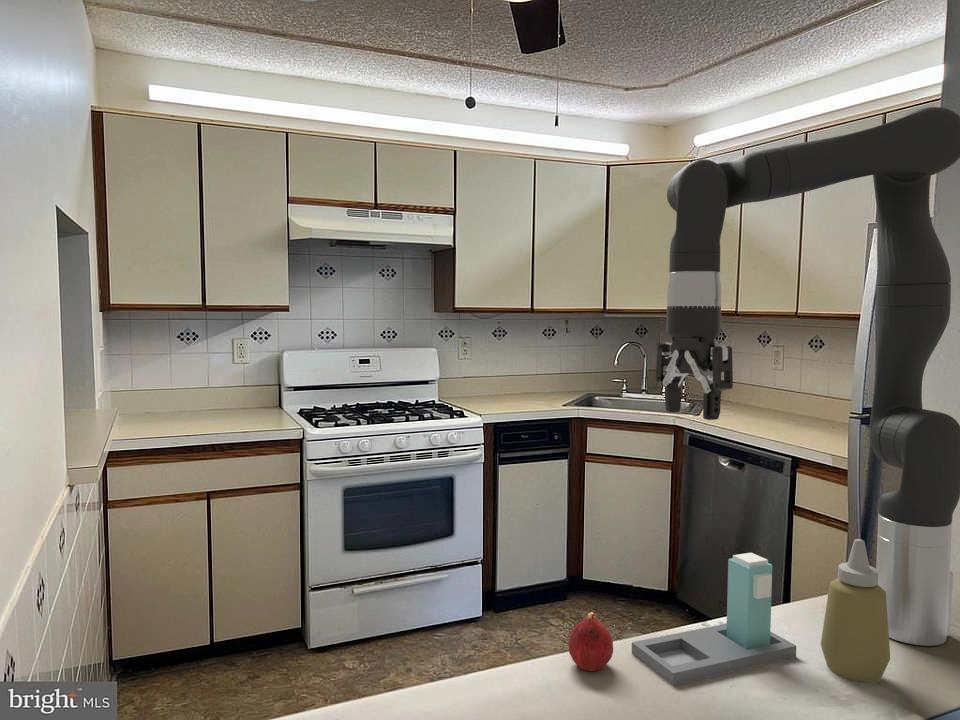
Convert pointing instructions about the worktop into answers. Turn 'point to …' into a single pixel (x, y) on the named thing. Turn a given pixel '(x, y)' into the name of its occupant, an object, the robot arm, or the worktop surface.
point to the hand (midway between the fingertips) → (691, 415)
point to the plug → (749, 600)
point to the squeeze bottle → (856, 621)
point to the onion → (590, 644)
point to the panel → (706, 654)
